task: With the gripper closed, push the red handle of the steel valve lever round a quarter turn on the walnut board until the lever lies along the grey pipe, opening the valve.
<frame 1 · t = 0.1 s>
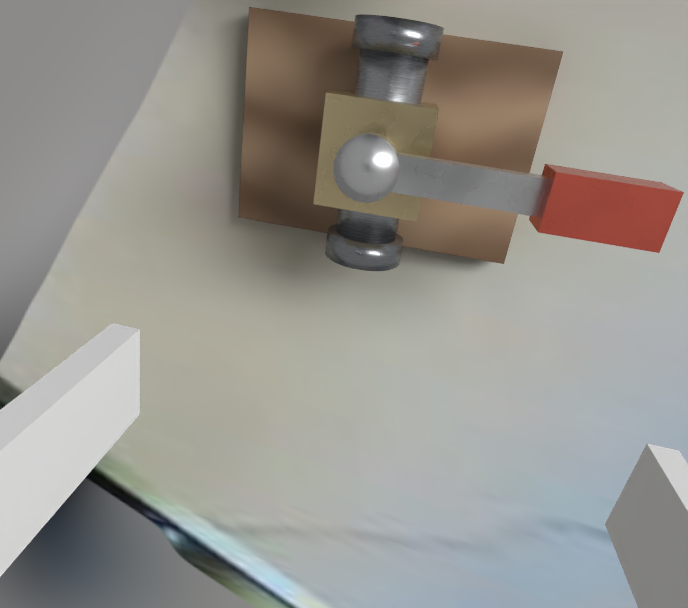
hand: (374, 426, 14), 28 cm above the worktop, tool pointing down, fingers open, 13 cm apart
valve lever: (493, 189, 25), point 13 cm above the worktop, hinge at 90.0°
base board: (386, 139, 37), on the worktop
valve body: (377, 152, 31), on the base board, point 7 cm above the worktop
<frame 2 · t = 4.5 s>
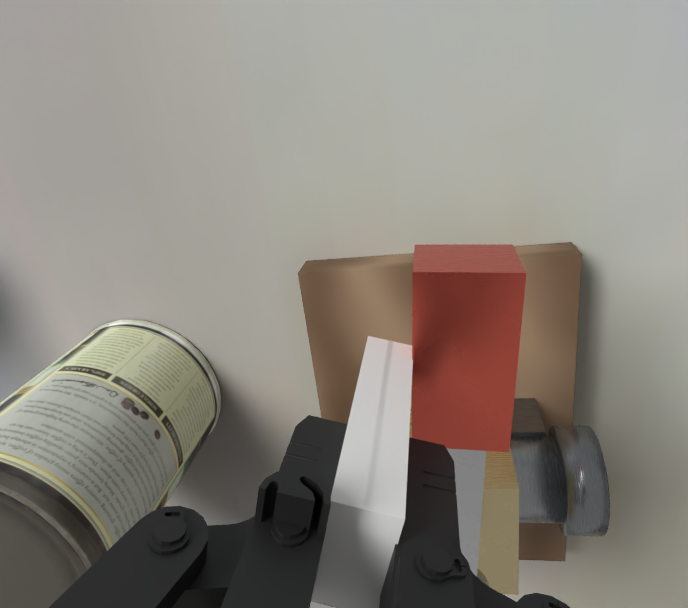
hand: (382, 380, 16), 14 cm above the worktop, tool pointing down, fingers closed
valve lever: (454, 482, 17), point 13 cm above the worktop, hinge at 85.6°, touching gripper
base board: (441, 409, 32), on the worktop
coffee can: (150, 386, 35), on the worktop
valve body: (444, 492, 25), on the base board, point 7 cm above the worktop
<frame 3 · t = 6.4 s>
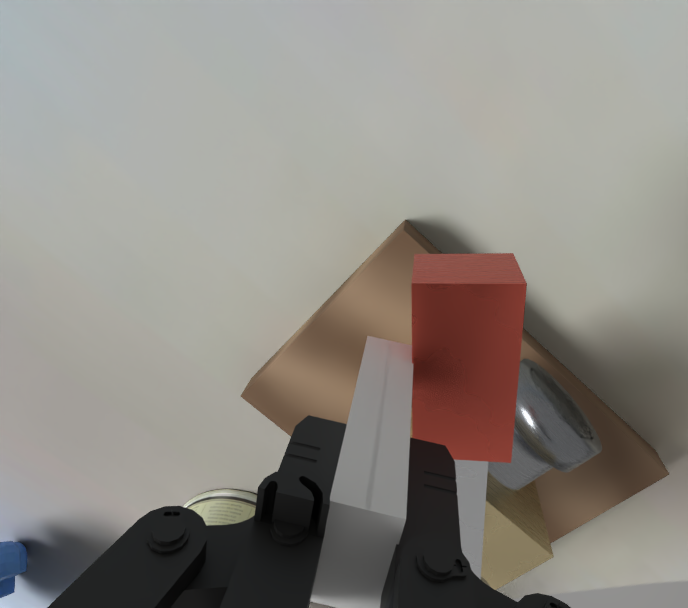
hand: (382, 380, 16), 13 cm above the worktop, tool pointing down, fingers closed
valve lever: (457, 491, 17), point 13 cm above the worktop, hinge at 44.2°, touching gripper
grapes: (12, 538, 43), on the worktop
base board: (445, 413, 31), on the worktop
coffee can: (242, 538, 39), on the worktop
valve body: (448, 497, 25), on the base board, point 7 cm above the worktop
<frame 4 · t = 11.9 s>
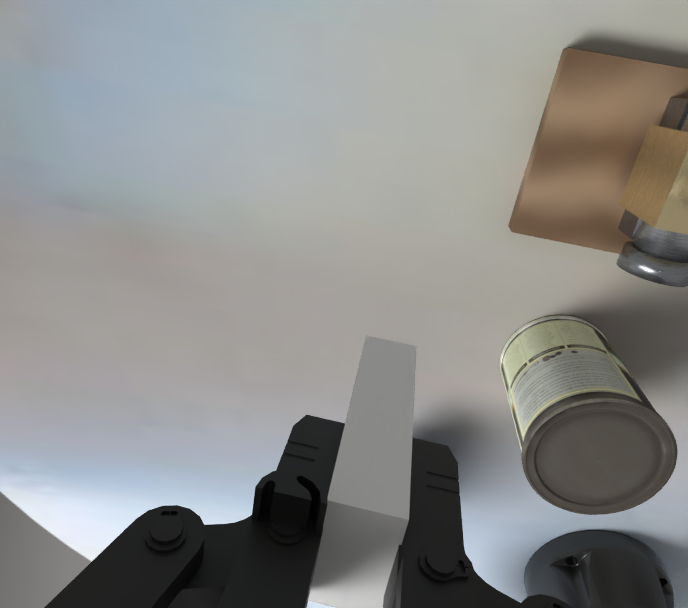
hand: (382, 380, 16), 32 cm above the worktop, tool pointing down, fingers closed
base board: (658, 167, 42), on the worktop
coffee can: (553, 361, 50), on the worktop
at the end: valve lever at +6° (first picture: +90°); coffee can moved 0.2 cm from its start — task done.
